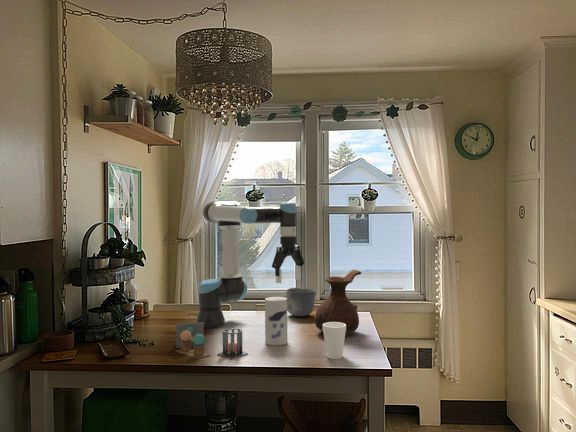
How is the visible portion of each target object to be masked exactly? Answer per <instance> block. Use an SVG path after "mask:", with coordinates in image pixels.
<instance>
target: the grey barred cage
mask: <svg viewBox="0 0 576 432" xmlns="http://www.w3.org/2000/svg"><path fill="white" fill-rule="evenodd" d="M229 331H231V332H229ZM235 331H236V332H235ZM221 333H222V351H220V352H219V353H217V354H216V355H217V356H220V357H222V358H226V359H229V360H234V359H237V358H241V357H244V356H247V355H249V353H248V352H245V351H243V329H241V328H236V327H235V328H233V327H232V328H225V329H223V330H222V332H221ZM229 335H230V343H231V353H229V352H228V350H227V346H228V344H229ZM235 335H236V344H237V352H236V353H233V342H235Z"/></svg>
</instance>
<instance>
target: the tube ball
mask: <svg viewBox="0 0 576 432" xmlns="http://www.w3.org/2000/svg"><path fill="white" fill-rule="evenodd" d="M227 350H228V352H229V353H231V342H228V346H227ZM236 352H237V342H235V341H234V342H233V353H236Z"/></svg>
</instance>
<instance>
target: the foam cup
mask: <svg viewBox="0 0 576 432" xmlns="http://www.w3.org/2000/svg"><path fill="white" fill-rule="evenodd" d="M345 332H346V324H344V323H340V322H327V323H324V324H323V332H322V333H323V339H324V346H325V353H326V358H328V359H331V360H334V359H335V360H339V359H342V358H343V356H344V346H345V338H346V336H345Z"/></svg>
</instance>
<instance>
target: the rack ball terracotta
mask: <svg viewBox="0 0 576 432" xmlns="http://www.w3.org/2000/svg"><path fill="white" fill-rule="evenodd" d="M180 337H181V339H182V340H183V341H189V340H190V339H191V332H190V331H188V330H185V331H183V332H182V333H181V335H180Z"/></svg>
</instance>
